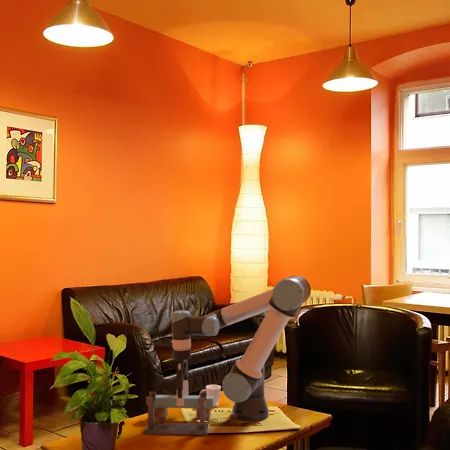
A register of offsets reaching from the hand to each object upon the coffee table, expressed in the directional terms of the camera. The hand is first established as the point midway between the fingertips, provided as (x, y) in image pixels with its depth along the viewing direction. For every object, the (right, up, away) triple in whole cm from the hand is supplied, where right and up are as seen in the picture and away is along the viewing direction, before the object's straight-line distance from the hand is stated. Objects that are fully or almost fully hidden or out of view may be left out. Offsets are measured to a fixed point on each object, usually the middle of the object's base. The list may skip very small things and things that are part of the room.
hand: (182, 400), depth 238 cm
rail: (0, -2, 0) cm, 2 cm away
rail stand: (-1, -7, -14) cm, 16 cm away
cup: (+11, -7, +18) cm, 22 cm away
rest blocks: (0, -7, 0) cm, 7 cm away
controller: (-24, -8, -19) cm, 32 cm away
